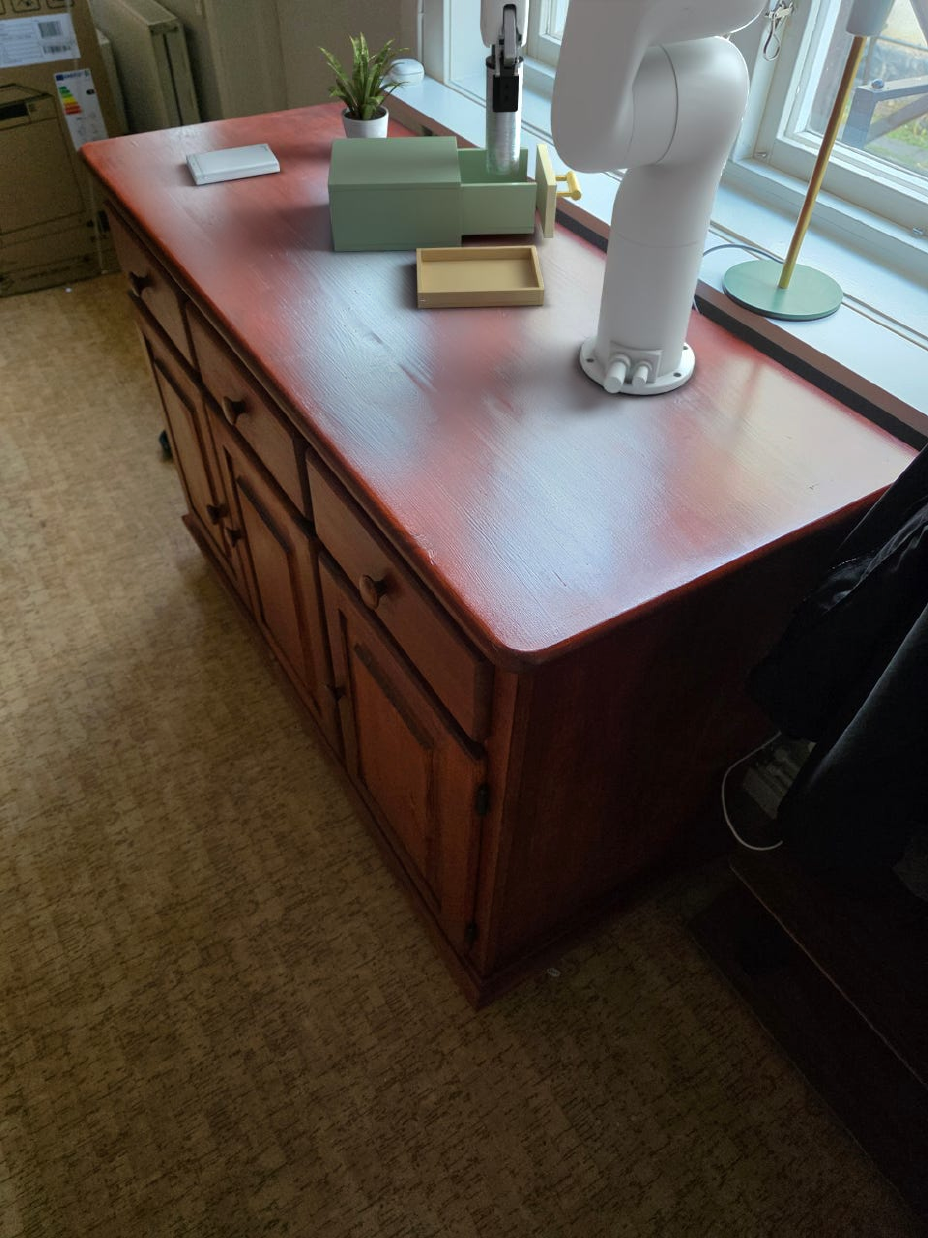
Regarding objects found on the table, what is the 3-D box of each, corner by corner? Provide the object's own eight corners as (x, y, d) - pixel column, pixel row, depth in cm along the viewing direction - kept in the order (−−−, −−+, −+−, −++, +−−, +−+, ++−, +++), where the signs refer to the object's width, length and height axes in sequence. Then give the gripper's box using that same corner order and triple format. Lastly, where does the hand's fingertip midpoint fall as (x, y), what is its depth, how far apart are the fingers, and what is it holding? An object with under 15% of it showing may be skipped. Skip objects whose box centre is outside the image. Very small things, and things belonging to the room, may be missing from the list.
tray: (534, 260, 115) (535, 245, 113) (543, 304, 107) (544, 289, 106) (416, 263, 114) (416, 247, 113) (418, 308, 107) (417, 292, 105)
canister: (514, 177, 114) (518, 66, 105) (480, 173, 115) (481, 63, 106) (523, 163, 117) (528, 54, 108) (490, 160, 118) (491, 51, 109)
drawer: (569, 192, 126) (574, 142, 121) (582, 237, 117) (588, 184, 112) (433, 196, 125) (431, 144, 120) (435, 240, 117) (434, 187, 111)
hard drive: (266, 141, 136) (184, 153, 133) (278, 161, 131) (194, 174, 128) (267, 152, 138) (187, 164, 135) (280, 173, 133) (197, 186, 130)
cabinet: (456, 200, 127) (455, 135, 120) (461, 248, 117) (461, 181, 110) (339, 202, 126) (332, 137, 120) (334, 251, 116) (327, 184, 110)
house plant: (438, 163, 135) (436, 39, 123) (359, 185, 130) (348, 58, 117) (389, 133, 143) (383, 14, 130) (313, 152, 138) (298, 30, 125)
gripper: (469, -95, 102) (469, 82, 116) (478, -63, 91) (477, 129, 105) (534, -97, 103) (527, 80, 116) (551, -65, 91) (541, 128, 105)
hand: (503, 102), depth 110 cm, fingers closed on canister, 4 cm apart
